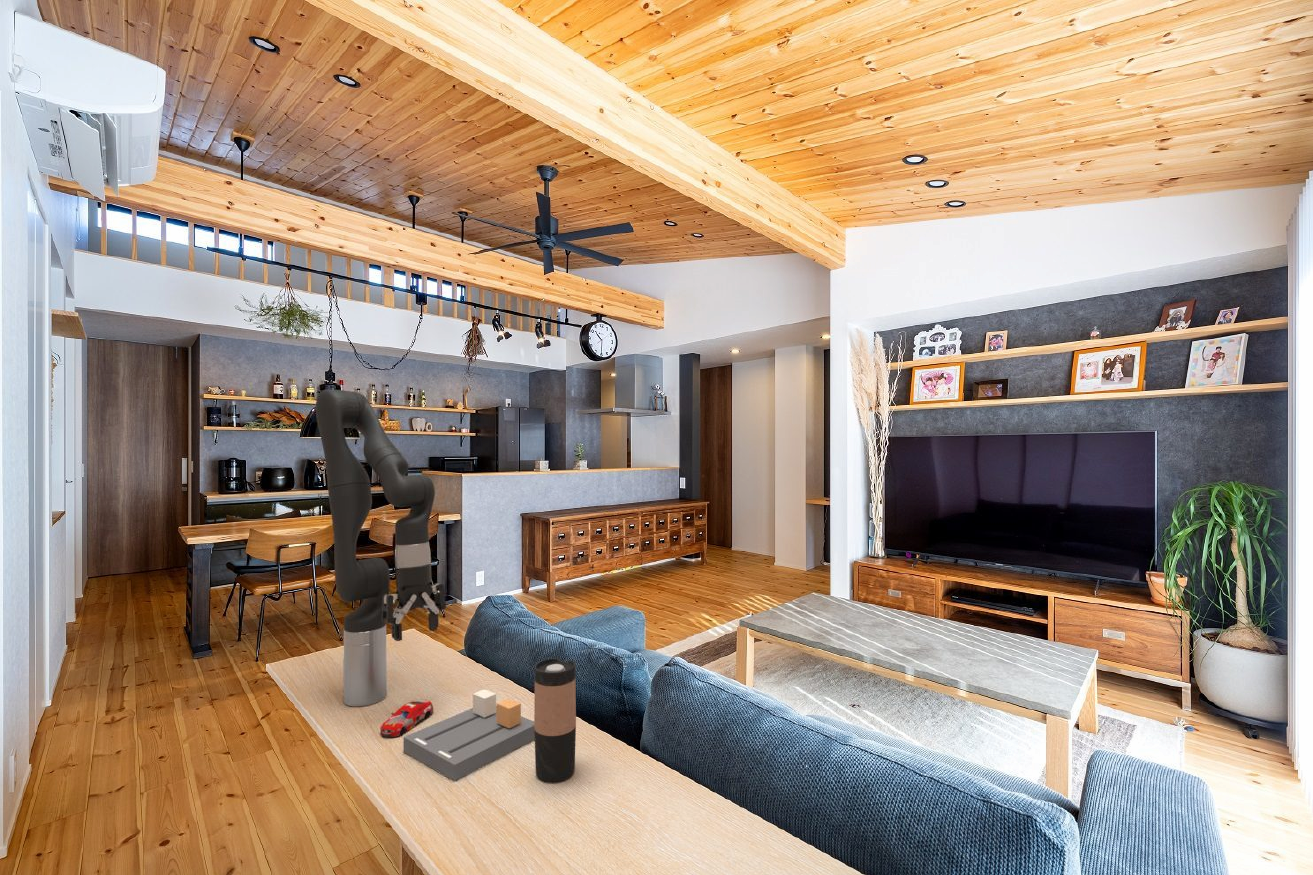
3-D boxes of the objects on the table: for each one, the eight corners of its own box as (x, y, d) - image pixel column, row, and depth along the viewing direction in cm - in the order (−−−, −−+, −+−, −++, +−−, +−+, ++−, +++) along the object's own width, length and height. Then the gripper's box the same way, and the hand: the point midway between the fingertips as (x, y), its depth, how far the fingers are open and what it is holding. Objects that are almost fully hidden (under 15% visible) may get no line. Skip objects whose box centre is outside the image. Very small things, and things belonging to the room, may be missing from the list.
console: (403, 752, 120) (403, 736, 120) (486, 715, 136) (486, 701, 136) (454, 781, 110) (454, 764, 110) (538, 737, 126) (538, 722, 126)
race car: (395, 742, 125) (395, 722, 125) (374, 738, 126) (374, 719, 126) (437, 714, 137) (437, 696, 137) (418, 710, 139) (418, 693, 139)
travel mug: (541, 788, 107) (541, 675, 107) (529, 767, 114) (529, 661, 114) (581, 777, 111) (581, 668, 111) (568, 757, 118) (567, 655, 118)
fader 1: (473, 712, 130) (472, 693, 130) (484, 707, 132) (484, 689, 132) (484, 717, 127) (484, 698, 127) (496, 712, 130) (496, 693, 130)
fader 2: (496, 722, 125) (496, 703, 125) (508, 717, 127) (508, 698, 127) (509, 728, 123) (509, 708, 123) (520, 722, 125) (520, 703, 125)
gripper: (432, 557, 145) (434, 625, 144) (374, 567, 134) (376, 641, 133) (450, 559, 141) (453, 629, 140) (392, 569, 129) (394, 646, 129)
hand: (415, 635), depth 137 cm, fingers open, 8 cm apart
